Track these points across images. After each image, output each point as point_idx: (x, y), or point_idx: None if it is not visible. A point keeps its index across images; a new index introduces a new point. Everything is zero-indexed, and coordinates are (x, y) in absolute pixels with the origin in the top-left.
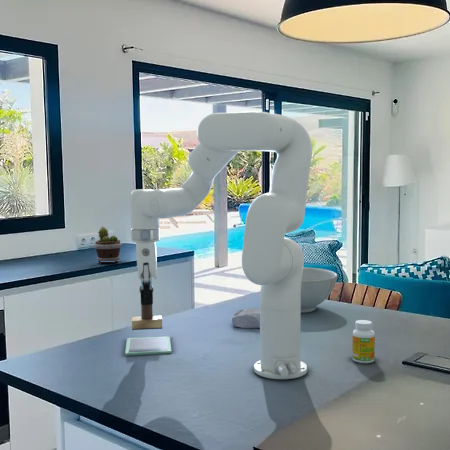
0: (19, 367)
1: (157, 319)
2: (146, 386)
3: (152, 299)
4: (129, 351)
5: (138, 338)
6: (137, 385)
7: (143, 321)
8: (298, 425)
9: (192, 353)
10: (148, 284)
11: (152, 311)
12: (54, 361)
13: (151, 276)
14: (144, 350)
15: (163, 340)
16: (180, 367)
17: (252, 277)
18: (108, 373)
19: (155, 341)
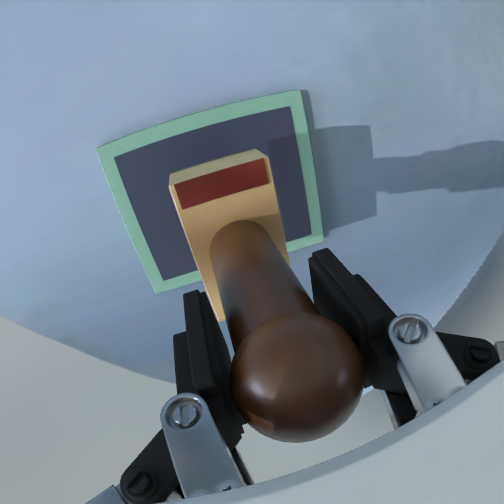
0: None
1: (266, 183)
2: (490, 137)
3: (341, 266)
4: (306, 234)
5: (150, 257)
6: (485, 154)
7: (285, 248)
8: None
9: (295, 17)
10: (498, 342)
11: (241, 238)
12: None
13: (236, 487)
14: (298, 188)
15: (162, 152)
16: (415, 59)
17: None
18: (431, 231)
19: None
